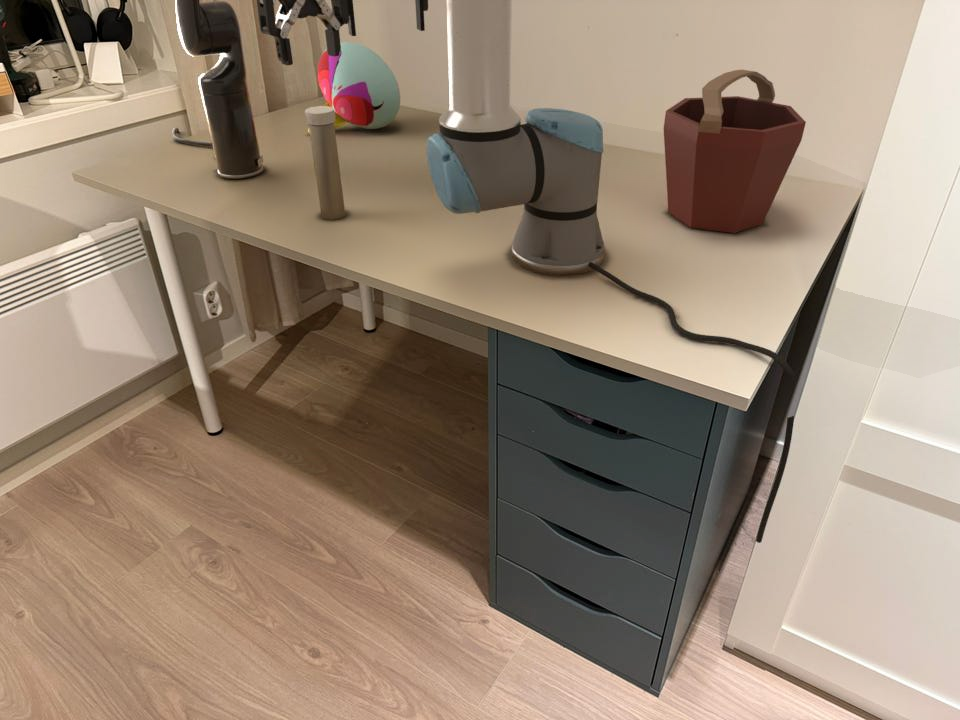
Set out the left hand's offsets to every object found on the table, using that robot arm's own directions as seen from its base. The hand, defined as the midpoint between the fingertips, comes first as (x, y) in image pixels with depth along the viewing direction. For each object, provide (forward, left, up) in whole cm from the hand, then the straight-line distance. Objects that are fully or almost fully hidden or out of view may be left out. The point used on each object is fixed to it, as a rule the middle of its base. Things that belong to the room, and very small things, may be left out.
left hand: (310, 60), depth 109 cm
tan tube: (-8, +5, -29) cm, 31 cm away
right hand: (-17, +28, -1) cm, 33 cm away
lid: (-8, +5, -10) cm, 14 cm away
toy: (-51, +42, -29) cm, 73 cm away
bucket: (+43, +55, -29) cm, 76 cm away
